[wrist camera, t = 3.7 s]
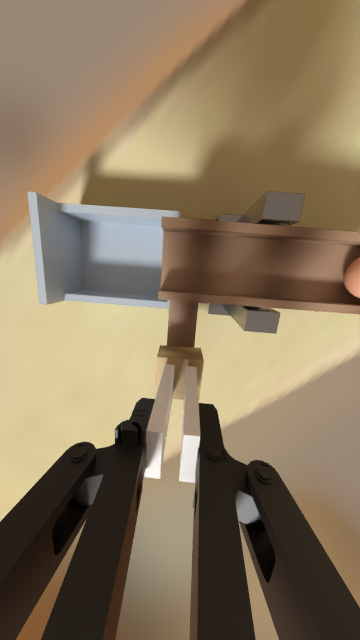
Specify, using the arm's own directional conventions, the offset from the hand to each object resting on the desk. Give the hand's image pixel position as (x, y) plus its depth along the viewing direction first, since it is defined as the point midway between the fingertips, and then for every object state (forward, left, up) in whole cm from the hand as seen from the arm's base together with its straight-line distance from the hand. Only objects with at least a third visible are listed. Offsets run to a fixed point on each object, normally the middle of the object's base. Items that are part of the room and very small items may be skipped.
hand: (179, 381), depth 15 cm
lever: (+7, +5, -4) cm, 9 cm away
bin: (-7, +9, -10) cm, 15 cm away
